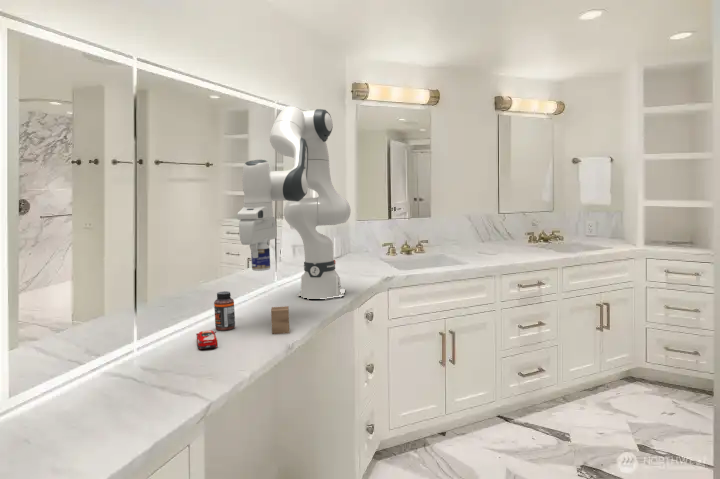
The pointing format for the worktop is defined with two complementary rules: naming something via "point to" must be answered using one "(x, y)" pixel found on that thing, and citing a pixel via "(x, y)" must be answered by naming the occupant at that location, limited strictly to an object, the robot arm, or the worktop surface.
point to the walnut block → (280, 320)
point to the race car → (206, 339)
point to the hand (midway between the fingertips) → (260, 256)
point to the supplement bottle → (224, 311)
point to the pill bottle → (262, 257)
